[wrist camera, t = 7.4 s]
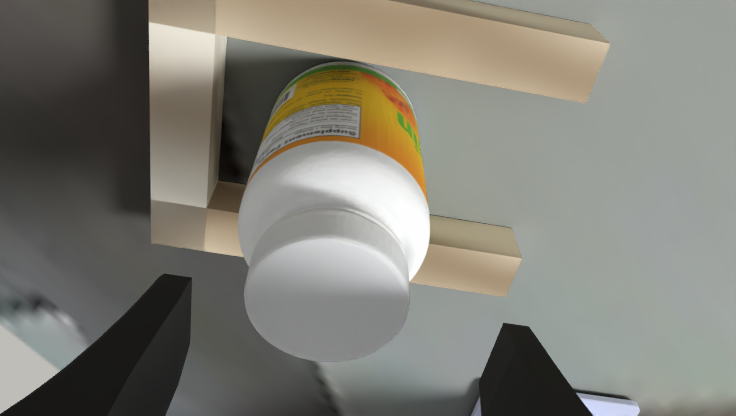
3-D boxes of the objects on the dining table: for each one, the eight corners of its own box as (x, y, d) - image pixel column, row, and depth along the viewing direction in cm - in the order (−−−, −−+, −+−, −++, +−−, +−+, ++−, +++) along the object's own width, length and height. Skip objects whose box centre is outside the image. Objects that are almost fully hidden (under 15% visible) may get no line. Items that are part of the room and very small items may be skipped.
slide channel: (497, 265, 26) (505, 297, 24) (166, 213, 25) (151, 243, 23) (591, 24, 20) (610, 43, 19) (167, -60, 19) (148, -47, 17)
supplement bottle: (426, 177, 24) (453, 369, 16) (293, 199, 24) (252, 394, 16) (404, 43, 21) (423, 193, 13) (253, 72, 21) (179, 232, 13)
